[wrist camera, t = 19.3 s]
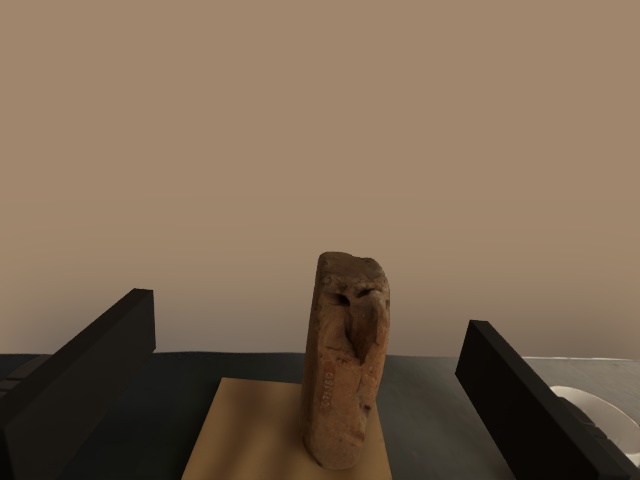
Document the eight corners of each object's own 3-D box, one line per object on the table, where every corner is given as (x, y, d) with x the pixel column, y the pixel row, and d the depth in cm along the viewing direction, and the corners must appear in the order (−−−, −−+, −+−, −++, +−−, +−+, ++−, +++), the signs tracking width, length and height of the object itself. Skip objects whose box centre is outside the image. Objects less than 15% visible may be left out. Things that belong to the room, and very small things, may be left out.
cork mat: (179, 488, 30) (179, 483, 30) (222, 381, 43) (222, 377, 43) (395, 504, 31) (396, 499, 30) (372, 393, 44) (372, 389, 44)
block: (300, 392, 42) (316, 244, 36) (358, 397, 42) (383, 251, 36) (292, 474, 32) (312, 285, 26) (369, 481, 32) (406, 295, 26)
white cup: (530, 524, 30) (564, 440, 27) (503, 450, 38) (529, 377, 35) (628, 553, 29) (675, 467, 26) (581, 470, 36) (613, 396, 33)
